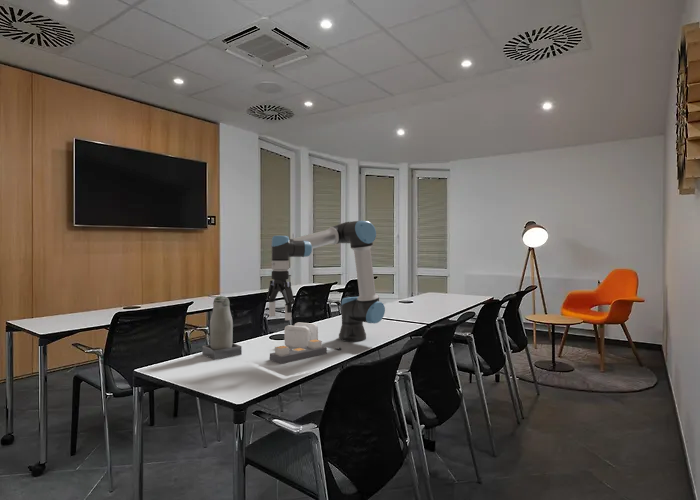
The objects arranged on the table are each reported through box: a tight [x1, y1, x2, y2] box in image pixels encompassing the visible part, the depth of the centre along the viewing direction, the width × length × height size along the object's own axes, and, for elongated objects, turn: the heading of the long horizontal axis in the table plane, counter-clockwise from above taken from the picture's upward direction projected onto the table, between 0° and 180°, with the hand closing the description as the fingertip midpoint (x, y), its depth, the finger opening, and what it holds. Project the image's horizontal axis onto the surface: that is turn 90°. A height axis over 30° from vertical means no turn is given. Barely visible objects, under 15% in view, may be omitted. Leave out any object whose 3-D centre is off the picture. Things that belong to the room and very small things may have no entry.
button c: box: [274, 345, 290, 356], centre depth 189 cm, size 4×4×3 cm
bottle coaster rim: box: [201, 342, 243, 361], centre depth 205 cm, size 14×14×4 cm
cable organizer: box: [284, 322, 319, 348], centre depth 217 cm, size 15×11×12 cm
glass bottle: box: [209, 295, 234, 350], centre depth 205 cm, size 10×10×28 cm
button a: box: [308, 339, 323, 349], centre depth 201 cm, size 4×4×3 cm
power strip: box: [269, 345, 342, 365], centre depth 199 cm, size 37×9×4 cm, turn 131°
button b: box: [291, 347, 306, 352], centre depth 195 cm, size 4×4×3 cm
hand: (280, 318), depth 189 cm, fingers open, 13 cm apart
